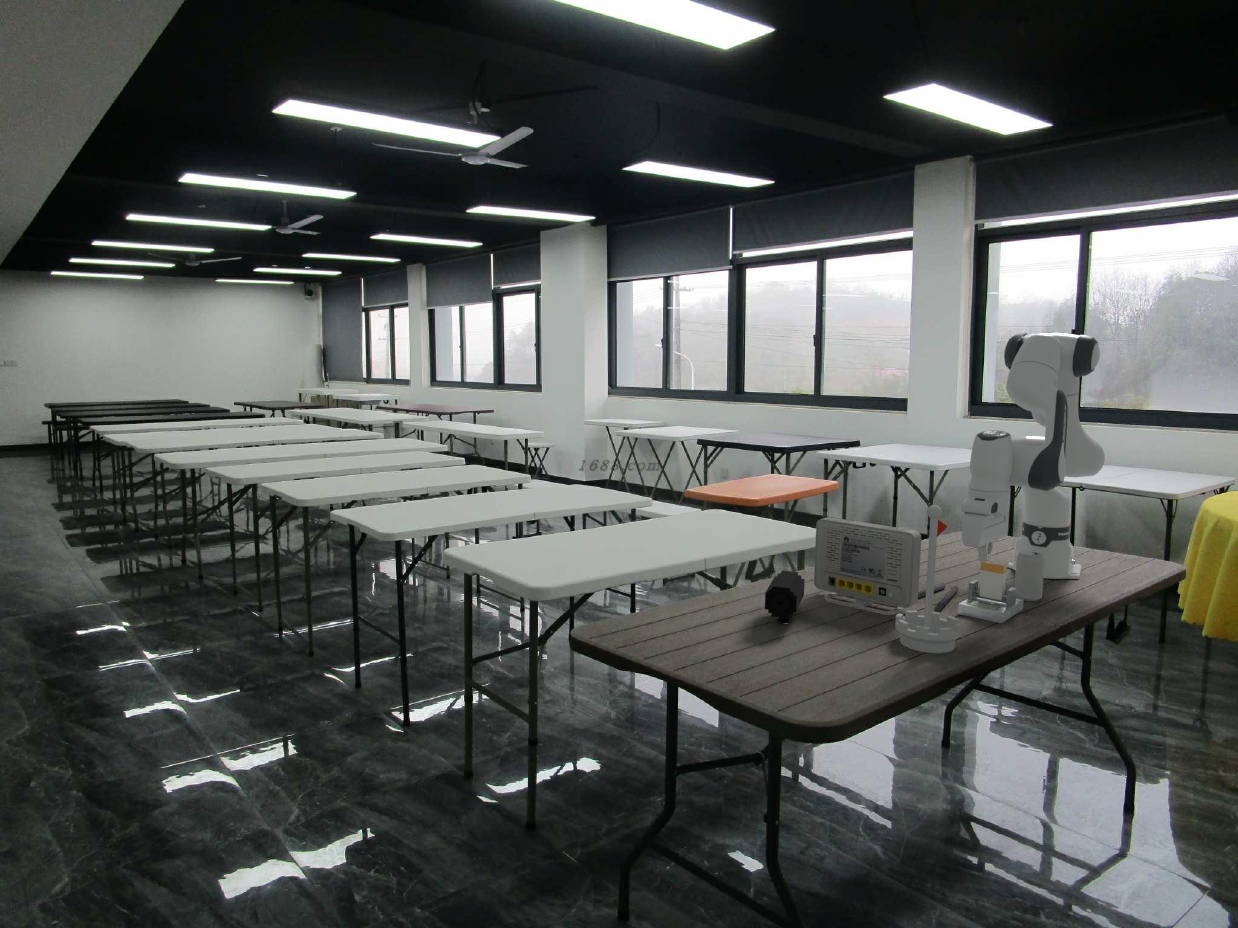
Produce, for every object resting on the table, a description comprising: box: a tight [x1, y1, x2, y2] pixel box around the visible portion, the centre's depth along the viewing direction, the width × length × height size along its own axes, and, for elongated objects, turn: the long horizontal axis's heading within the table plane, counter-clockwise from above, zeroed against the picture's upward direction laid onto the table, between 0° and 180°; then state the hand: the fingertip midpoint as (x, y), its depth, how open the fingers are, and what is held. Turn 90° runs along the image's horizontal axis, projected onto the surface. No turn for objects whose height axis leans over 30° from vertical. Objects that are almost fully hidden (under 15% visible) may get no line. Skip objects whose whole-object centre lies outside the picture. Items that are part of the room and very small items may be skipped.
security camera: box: [764, 570, 805, 624], centre depth 188 cm, size 7×18×10 cm, turn 161°
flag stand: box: [894, 504, 962, 654], centre depth 172 cm, size 13×13×30 cm
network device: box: [813, 516, 922, 616], centre depth 200 cm, size 26×9×20 cm, turn 47°
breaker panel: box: [957, 579, 1025, 624], centre depth 196 cm, size 15×10×6 cm, turn 137°
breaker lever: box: [975, 560, 1008, 603], centre depth 195 cm, size 2×7×9 cm, turn 47°
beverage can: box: [1014, 550, 1045, 602], centre depth 207 cm, size 6×6×12 cm
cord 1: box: [918, 582, 946, 599], centre depth 210 cm, size 19×1×1 cm, turn 132°
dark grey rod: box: [933, 585, 959, 613], centre depth 204 cm, size 23×1×1 cm, turn 147°
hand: (984, 560), depth 189 cm, fingers closed
